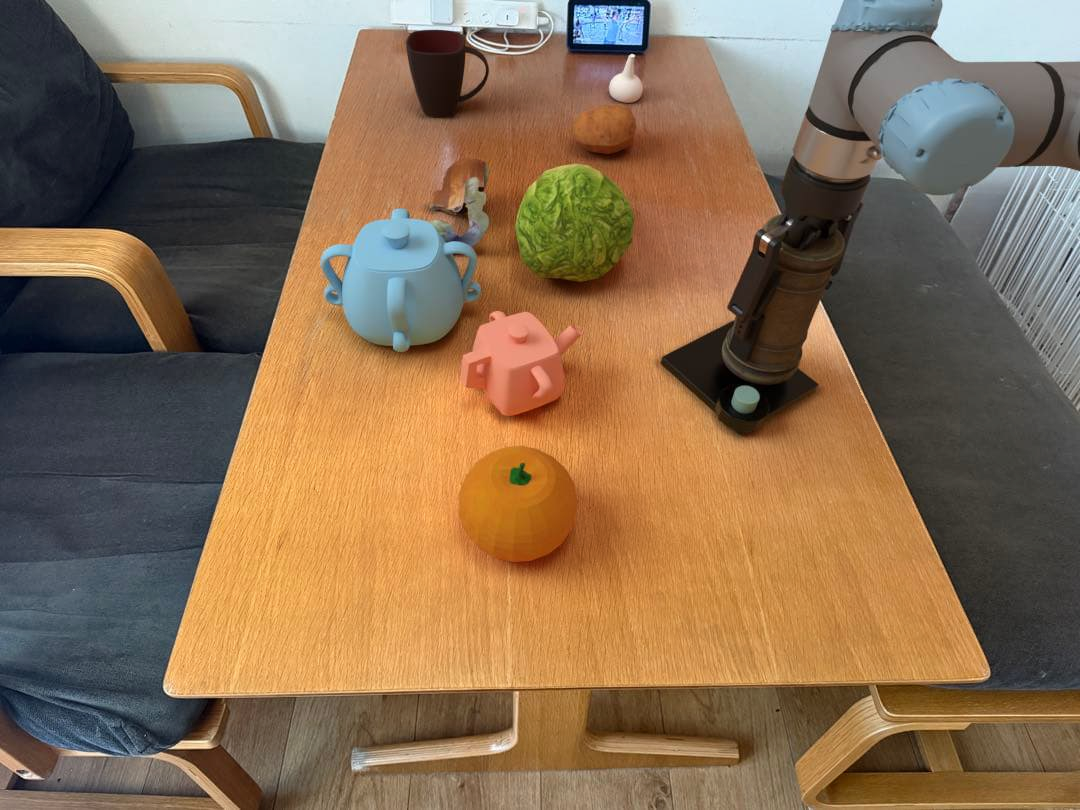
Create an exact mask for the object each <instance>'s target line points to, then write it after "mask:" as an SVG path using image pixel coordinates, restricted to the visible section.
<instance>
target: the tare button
mask: <svg viewBox="0 0 1080 810" xmlns="http://www.w3.org/2000/svg"><path fill="white" fill-rule="evenodd" d="M759 398H760V395H759V393H758V391H757V390H756V389H754V388H752V387H750V386H740V387H738V388H737V389H736V390H735V392H734V395H733V398H732V401H731V404H732V407H733V408H734V409H735V410H736V411H738V412H740V413H744V414H749V413H752V412H753V411H754V410H755V409H756V406H757V404H758V401H759Z"/></svg>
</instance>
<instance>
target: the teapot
mask: <svg viewBox="0 0 1080 810" xmlns="http://www.w3.org/2000/svg"><path fill="white" fill-rule="evenodd" d="M488 318H489V320H488V321H489V322H486V323H483V324H481V325H479V327H478V329H477V332H476V335H475V338H474V342H473V346H472V351H470V352H467V353H465V354H462V357H461V358H462V359H461V368H460V375H459V376H460V377H459V378H460V382H461V383H462V384H463V386H464V387H465V388H466V389H475V390H482V391H483V392H484V394H485V395H486V397H487V398H488V399H489V401H490V402H491V403H492V404H493V406H495V408H496V409H497V410H498V411H499V412H500V413H501V415H503V416H506V417H507V416H508V417H511V416H512V417H513V416H516V415H519V414H523V413H526V412H528V411H531V410H535V409H537V408H539V407H542V406H545V405H547V404H549V403H552V402H554V401H556V400H558V399H559V397H560V396H561V395H562V393H563V391H564V388H565V372H564V365H563V361H562V357H561V356H563V354H565V352H567V350H568V349H569V348H570V347H571V346H572V345H574V344H575V343H576V342H577V341H578V340H579V338H580V337H582V335H583V334H582V332H581V331H580V330H579V329H578V328H577V327H576V326H574V324H572V323H571V324H569V325H568V326H567V327H566V328H565V329H564V330H563V331H562V333H560V334H559V335H558V336H557V337H556V338H555V339H554V338H553V336H552V335H551V334H550V332H549V331H548V330H547V328H546V327H545V326H544V324H542V322H540V320H539V319H538V318H537V317H536V316H535V315H534V314H532V313H531V312H529V311H522V312H518V313H515V314H510V315H506V314H505V313H504V312H503V311H501V310H496V311H493V312H491V313H490V314H489V317H488Z"/></svg>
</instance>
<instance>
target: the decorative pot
mask: <svg viewBox="0 0 1080 810" xmlns="http://www.w3.org/2000/svg"><path fill="white" fill-rule="evenodd" d="M427 221H428V220H425V219H419V218H411V214H410V211H409V210H408V209H406V208H401V207H399V208H395V209H393V210H392V212H391V216H390V218H386V219H385V218H384V219H378V220H373V221H371V222H368V223H366V224H365V225H364V226H363V227H362V228H361V229H360V230H359V232H358V234H357V235H356V237H355V240H354V242H353V244H352V245H351V244H345V243H338V244H333V245H331V246H329V247H327V248H326V249H325V250H324V251H323V252H322V254H321V256H320V267H321V270H322V273H323V275H324V277H325V278H326V280H327V281H328V283H329V284H328V285H327V286H325V288H324V291H323V296H324V297H323V298H324V299H325V301H326V303H328V304H330V305H333V306H335V307H337V306H338V307H340V306H342V308H343V309H342V310H343V313H344V316H345V318H346V320H347V322H348V324H349V326H350V327H351V329H352V330H353V332H355V333H356V334H357V335H358V336H359V337H361V338H362V339H364V340H365V341H367V342H369V343H370V344H371V343H372V344H374V345H378V346H390V347H392V348H393V350H394V351H396V352H398V353H405V352H406V351H408V350H409V348H410V346H418V345H425V344H426V345H427V344H431V343H434V342H437V341H439V340H441V339H442V338H443V337H445V336H446V335H447V334H448V333H450V331H451V330H452V329H453V328H454V326H455V325H456V324H457V321H458V320H459V318H460V316H461V313H462V310H463V307H464V302H468V303H472V302H474V301H477V300H478V299H479V298H480V297H481V294H482V287H481V285H480V283H478V282H477V281H473V278H474V275H475V272H476V271H477V265H478V256H477V253H476V251H475V250H474V248H473V246H471V247H470V246H469V245H467V244H465V243H462V242H457V241H453V242H448V243H446V242H445V241H444V239H443V238H442V236H441V234H440V233H439V232H438V231H437V229H436V228H435V227H434V226H433V225H432V224H431V223H429V222H430V221H429V222H427ZM455 253H456V254H455ZM457 254H458V255H463V256H465V257H467V258H468V262H467V266H466V269H465V271H464V274H463V276H461V272H460V269H459V265H458V263H457V261H456V258H455V256H454V255H457ZM336 257H343V258H347V259H346V262H345V266H344V269H343V276H342V280H341V278H340V277H339V275H338V274H337V273H336V271H335V270H334V268H333V266H332V263H331V261H330V260H331V259H333V258H336ZM335 292H336V293H335Z"/></svg>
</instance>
